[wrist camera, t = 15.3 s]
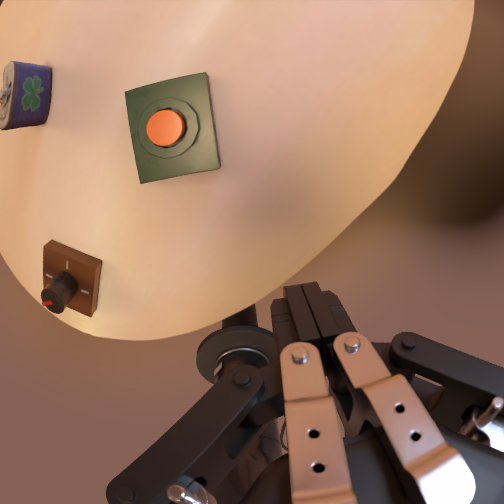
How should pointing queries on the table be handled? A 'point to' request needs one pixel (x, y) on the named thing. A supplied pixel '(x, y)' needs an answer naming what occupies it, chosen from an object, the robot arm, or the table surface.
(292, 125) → the table surface
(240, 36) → the table surface
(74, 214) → the table surface
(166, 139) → the button
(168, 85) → the button box
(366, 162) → the table surface
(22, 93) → the flask
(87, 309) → the panel
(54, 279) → the knob
